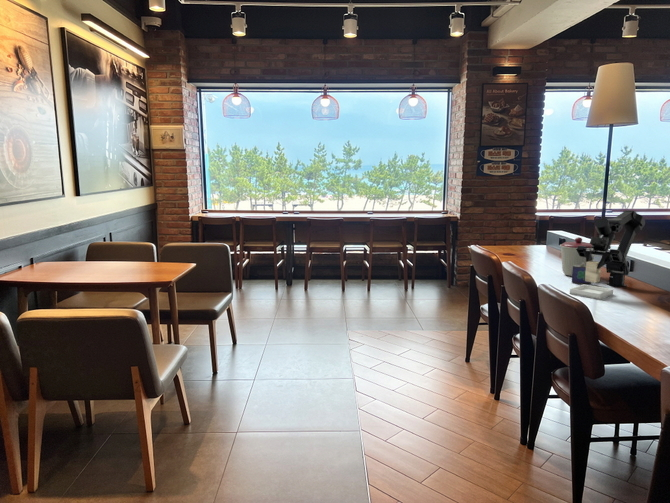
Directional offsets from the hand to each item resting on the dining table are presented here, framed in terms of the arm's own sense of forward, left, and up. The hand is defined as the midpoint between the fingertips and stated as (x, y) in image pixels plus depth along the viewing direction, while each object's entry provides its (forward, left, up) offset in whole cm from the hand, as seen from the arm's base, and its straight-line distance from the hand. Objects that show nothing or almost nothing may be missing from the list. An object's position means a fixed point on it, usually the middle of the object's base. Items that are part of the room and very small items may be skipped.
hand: (592, 267), depth 216 cm
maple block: (-1, 0, -7) cm, 7 cm away
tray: (-1, -1, -13) cm, 13 cm away
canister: (-26, -36, -13) cm, 46 cm away
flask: (-14, -20, -13) cm, 28 cm away
